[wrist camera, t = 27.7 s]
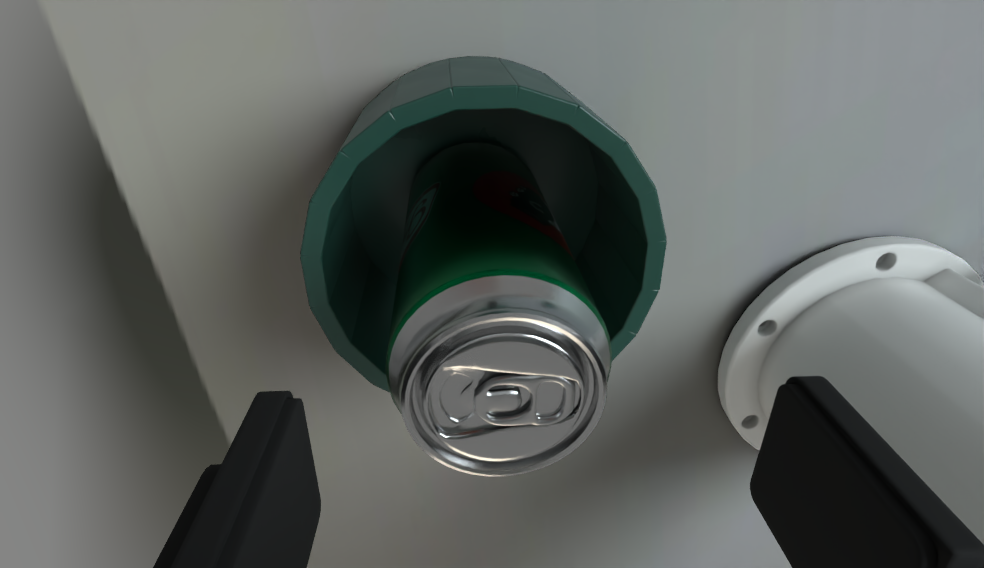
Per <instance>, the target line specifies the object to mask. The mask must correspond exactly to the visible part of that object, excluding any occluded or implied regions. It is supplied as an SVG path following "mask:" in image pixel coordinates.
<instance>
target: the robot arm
mask: <svg viewBox="0 0 984 568" xmlns="http://www.w3.org/2000/svg"><path fill="white" fill-rule="evenodd" d="M718 392H719V396H720V400H721V405H722V407H723V409H724V411H725V413H726V415H727V416H728V418H729V420H730V422H731V423H732V425H733V426H734V427H735V429H736V430H737V431H738V433H739V434H740V435H741V437H742V438H743V439H744V440H745V441H747V442H748V443H749V444H750V445H752V446H753V447H754V448H756V449H757V450H759V454H758V458H757V461H756V464H755V468H754V471H753V475H752V478H751V482H750V490H751V495H752V498H753V500H754V502H755V504H756V506H757V508H758V509H759V511H760V513H761V514H762V516H763V518H764V520H765V521H766V523H767V525H768V527H769V528H770V530H771V532H772V533H773V535H774V537H775V539H776V540H777V542H778V544H779V545H780V547H781V549H782V551H783V552H784V554H785V556H786V558H787V559H788V561H789V563H790V564H791V566H792V568H984V283H983V282H982V280H981V278H980V276H979V274H978V273H977V272H976V271H975V270H974V269H973V268H972V267H971V266H970V265H969V264H968V263H967V262H966V261H965V260H964V259H962V258H960V257H958V256H956V255H955V254H953V253H951V252H949V251H948V250H946V249H944V248H942V247H940V246H938V245H935V244H932V243H930V242H927V241H924V240H922V239H917V238H909V237H901V236H885V237H869V238H865V239H861V240H857V241H852V242H848V243H844V244H841V245H838V246H836V247H833V248H831V249H828V250H826V251H823V252H821V253H818V254H816V255H814V256H812V257H810V258H809V259H807V260H805V261H803V262H802V263H800V264H798V265H797V266H795V267H793V268H791V269H790V270H788V271H787V272H786V273H784V274H783V275H782V276H781V277H779V278H778V279H777V280H776V281H774V282H773V283H772V284H770V285H769V286H768V287H767V288H766V289H765V290H764V291H763V292H762V293H761V294H760V295H759V296H758V297H757V298H756V299H755V300H754V301H753V302H752V303H751V304H750V305H749V306H748V308H747V309H746V310H745V312H744V313H743V315H742V316H741V318H740V319H739V320H738V322H737V323H736V325H735V326H734V328H733V330H732V332H731V334H730V336H729V338H728V340H727V342H726V344H725V347H724V349H723V352H722V356H721V360H720V364H719V368H718ZM320 511H321V499H320V493H319V487H318V482H317V476H316V471H315V466H314V460H313V455H312V449H311V444H310V439H309V433H308V428H307V422H306V417H305V411H304V406H303V402H302V400H301V399H300V398H293V395H292V393H291V392H290V391H269V392H259V393H257V395H256V396H255V398H254V400H253V402H252V404H251V406H250V408H249V410H248V412H247V414H246V416H245V418H244V420H243V422H242V424H241V426H240V428H239V430H238V432H237V434H236V436H235V438H234V440H233V442H232V444H231V446H230V448H229V450H228V452H227V455H226V456H225V458H224V460H223V463H222V464H220V465H210V466H209V467H207V468H206V469H205V471H204V472H203V474H202V475H201V477H200V479H199V481H198V483H197V485H196V487H195V489H194V491H193V492H192V495H191V497H190V498H189V500H188V502H187V504H186V506H185V508H184V510H183V512H182V513H181V515H180V517H179V519H178V521H177V523H176V525H175V527H174V529H173V531H172V533H171V534H170V536H169V538H168V540H167V542H166V544H165V546H164V548H163V550H162V552H161V553H160V555H159V557H158V559H157V561H156V563H155V565H154V567H153V568H307V564H308V560H309V556H310V552H311V549H312V545H313V541H314V537H315V533H316V529H317V525H318V522H319V517H320Z"/></svg>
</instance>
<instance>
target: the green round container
mask: <svg viewBox="0 0 984 568" xmlns="http://www.w3.org/2000/svg"><path fill="white" fill-rule="evenodd" d="M470 142H481V143H489V144H493V145H497V146H499V147H502V148H504V149H507V150H508V151H510V152H512V153H513V154H515V155H516V156H517V157H518V158H520V159H521V160H522V161H523V162H524V163H525V164H526V165H527V167H528V168H529V169H530V171H531V172H532V174H533V176H534V178H535V179H536V181H537V184H538V186H539V188H540V190H541V192H542V194H543V196H544V198H545V200H546V202H547V204H548V206H549V208H550V211H551V213H552V215H553V217H554V219H555V221H556V223H557V225H558V227H559V229H560V231H561V233H562V235H563V238H564V240H565V242H566V244H567V246H568V248H569V250H570V252H571V254H572V256H573V258H574V260H575V263H576V265H577V267H578V269H579V271H580V273H581V275H582V277H583V279H584V281H585V283H586V285H587V287H588V290H589V292H590V294H591V296H592V298H593V300H594V302H595V304H596V306H597V308H598V310H599V312H600V314H601V317H602V319H603V321H604V323H605V325H606V328H607V331H608V334H609V337H610V342H611V349H612V360H611V362H612V361H613V360H614V358H615V357H616V356H617V355H618V354H619V353H620V352H621V351H622V350H623V349H624V348H625V347H626V346H627V345H628V344H629V342H630V341H631V340H632V339H633V338H634V337H635V336H636V334H637V333H638V331H639V329H640V327H641V325H642V323H643V321H644V319H645V317H646V315H647V313H648V311H649V309H650V307H651V305H652V303H653V301H654V299H655V297H656V295H657V293H658V290H659V289H660V283H661V276H662V269H663V263H664V256H665V249H666V242H667V241H666V234H665V229H664V224H663V219H662V214H661V209H660V204H659V199H658V194H657V190H656V187H655V185H654V184H653V182H652V180H651V179H650V177H649V176H648V174H647V172H646V171H645V169H644V168H643V166H642V164H641V163H640V161H639V159H638V158H637V156H636V155H635V153H634V151H633V150H632V148H631V147H630V145H629V143H628V142H627V141H626V140H625V139H624V138H623V137H622V136H621V135H619V134H618V133H617V132H616V131H615V130H614V129H612V128H611V127H610V126H609V125H608V124H607V123H605V122H604V121H603V120H602V119H601V118H600V117H598V116H597V115H596V114H595V113H594V112H593V111H591V110H590V109H589V108H588V107H587V106H586V105H584V104H583V103H582V102H581V101H580V100H579V99H577V98H576V97H575V96H573V95H572V94H571V93H569V92H568V91H567V90H566V89H564V88H563V87H562V86H561V85H559V84H558V83H556V82H555V81H554V80H553V79H551V78H550V77H549V76H547V75H546V74H545V73H542V72H541V71H537V70H534V69H532V68H530V67H528V66H525V65H522V64H519V63H516V62H513V61H509V60H505V59H501V58H496V57H477V56H467V57H458V58H449V59H445V60H442V61H438V62H434V63H430V64H427V65H425V66H423V67H420V68H418V69H416V70H413V71H411V72H409V73H408V74H405V75H403V77H400V78H399V79H398V80H396V81H394V82H393V83H392V84H390V85H389V86H388V87H387V88H386V89H384V90H383V91H382V92H381V93H379V94H378V95H377V96H376V98H375V99H374V100H372V101H371V102H370V103H369V104H368V105H367V106H366V107H365V108H364V109H363V111H362V113H361V114H360V116H359V118H358V120H357V121H356V123H355V125H354V126H353V128H352V130H351V131H350V133H349V135H348V136H347V138H346V140H345V141H344V143H343V145H342V147H341V148H340V150H339V152H338V153H337V155H336V157H335V158H334V160H333V162H332V163H331V165H330V167H329V169H328V170H327V172H326V174H325V175H324V177H323V179H322V180H321V182H320V184H319V185H318V187H317V189H316V191H315V192H314V194H313V196H312V197H311V200H310V202H309V206H308V212H307V218H306V223H305V229H304V235H303V240H302V246H301V252H300V254H301V256H300V259H301V264H302V269H303V275H304V280H305V285H306V291H307V296H308V302H309V306H310V309H311V310H312V312H313V314H314V315H315V317H316V319H317V321H318V322H319V324H320V326H321V328H322V329H323V331H324V333H325V334H326V336H327V338H328V340H329V341H330V343H331V345H332V346H333V348H334V350H336V352H337V353H338V354H339V355H340V356H341V357H342V358H344V359H345V360H346V361H347V362H348V363H349V364H350V365H351V366H352V367H354V368H355V369H356V370H357V371H358V372H359V373H360V374H361V375H363V376H364V377H365V378H366V379H367V380H368V381H369V382H370V383H372V384H373V385H375V386H377V387H379V388H381V389H383V390H386V391H388V392H390V391H389V389H388V384H387V378H386V355H387V348H388V341H389V334H390V327H391V320H392V313H393V306H394V299H395V291H396V284H397V277H398V270H399V263H400V256H401V249H402V242H403V235H404V228H405V221H406V214H407V207H408V200H409V195H410V190H411V187H412V184H413V182H414V179H415V178H416V176H417V174H418V172H419V171H420V169H421V168H422V167H423V166H424V165H425V163H426V162H427V161H429V160H430V159H431V158H432V157H433V156H434V155H436V154H438V153H439V152H441V151H442V150H444V149H447V148H449V147H451V146H454V145H458V144H462V143H470Z"/></svg>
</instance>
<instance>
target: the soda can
mask: <svg viewBox="0 0 984 568" xmlns="http://www.w3.org/2000/svg"><path fill="white" fill-rule="evenodd" d="M611 360H612V349H611V342H610V337H609V334H608V331H607V328H606V325H605V323H604V321H603V319H602V317H601V314H600V312H599V310H598V308H597V306H596V304H595V302H594V300H593V298H592V296H591V294H590V292H589V290H588V287H587V285H586V283H585V281H584V279H583V277H582V275H581V273H580V271H579V269H578V267H577V265H576V263H575V260H574V258H573V256H572V254H571V252H570V250H569V248H568V246H567V244H566V242H565V240H564V238H563V235H562V233H561V231H560V229H559V227H558V225H557V223H556V221H555V219H554V217H553V215H552V213H551V211H550V208H549V206H548V204H547V202H546V200H545V198H544V196H543V194H542V192H541V190H540V188H539V186H538V184H537V181H536V179H535V178H534V176H533V174H532V172H531V171H530V169H529V168H528V167H527V165H526V164H525V163H524V162H523V161H522V160H521V159H520V158H518V157H517V156H516V155H515V154H513V153H512V152H510V151H508V150H507V149H504V148H502V147H499V146H497V145H493V144H489V143H481V142H470V143H462V144H458V145H454V146H451V147H449V148H447V149H444V150H442V151H441V152H439V153H438V154H436V155H434V156H433V157H432V158H431V159H430V160H429V161H427V162H426V163H425V165H424V166H423V167H422V168H421V169H420V171H419V172H418V174H417V176H416V178H415V179H414V182H413V184H412V187H411V190H410V195H409V200H408V207H407V214H406V221H405V228H404V235H403V242H402V249H401V256H400V263H399V270H398V277H397V284H396V291H395V299H394V306H393V313H392V320H391V327H390V334H389V341H388V348H387V355H386V378H387V384H388V389H389V391H390V394H391V396H392V399H393V401H394V403H395V405H396V406H397V408H398V410H399V411H400V413H401V414H402V417H403V420H404V422H405V425H406V427H407V430H408V432H409V433H410V435H411V436H412V438H413V440H414V441H415V442H416V443H417V444H418V445H419V447H420V448H421V449H422V450H423V451H424V452H426V453H427V454H428V455H429V456H431V457H432V458H433V459H435V460H437V461H438V462H440V463H442V464H444V465H445V466H448V467H450V468H453V469H455V470H458V471H461V472H465V473H469V474H473V475H481V476H511V475H519V474H523V473H528V472H532V471H535V470H538V469H541V468H544V467H546V466H548V465H550V464H553V463H555V462H557V461H559V460H560V459H562V458H563V457H565V456H567V455H568V454H570V453H571V452H572V451H574V450H575V449H576V448H577V447H578V446H579V445H581V444H582V443H583V442H584V441H585V439H586V438H587V437H588V436H589V435H590V434H591V432H592V431H593V429H594V428H595V426H596V425H597V423H598V422H599V419H600V417H601V415H602V413H603V410H604V406H605V402H606V398H607V382H608V378H609V374H610V369H611Z"/></svg>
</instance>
